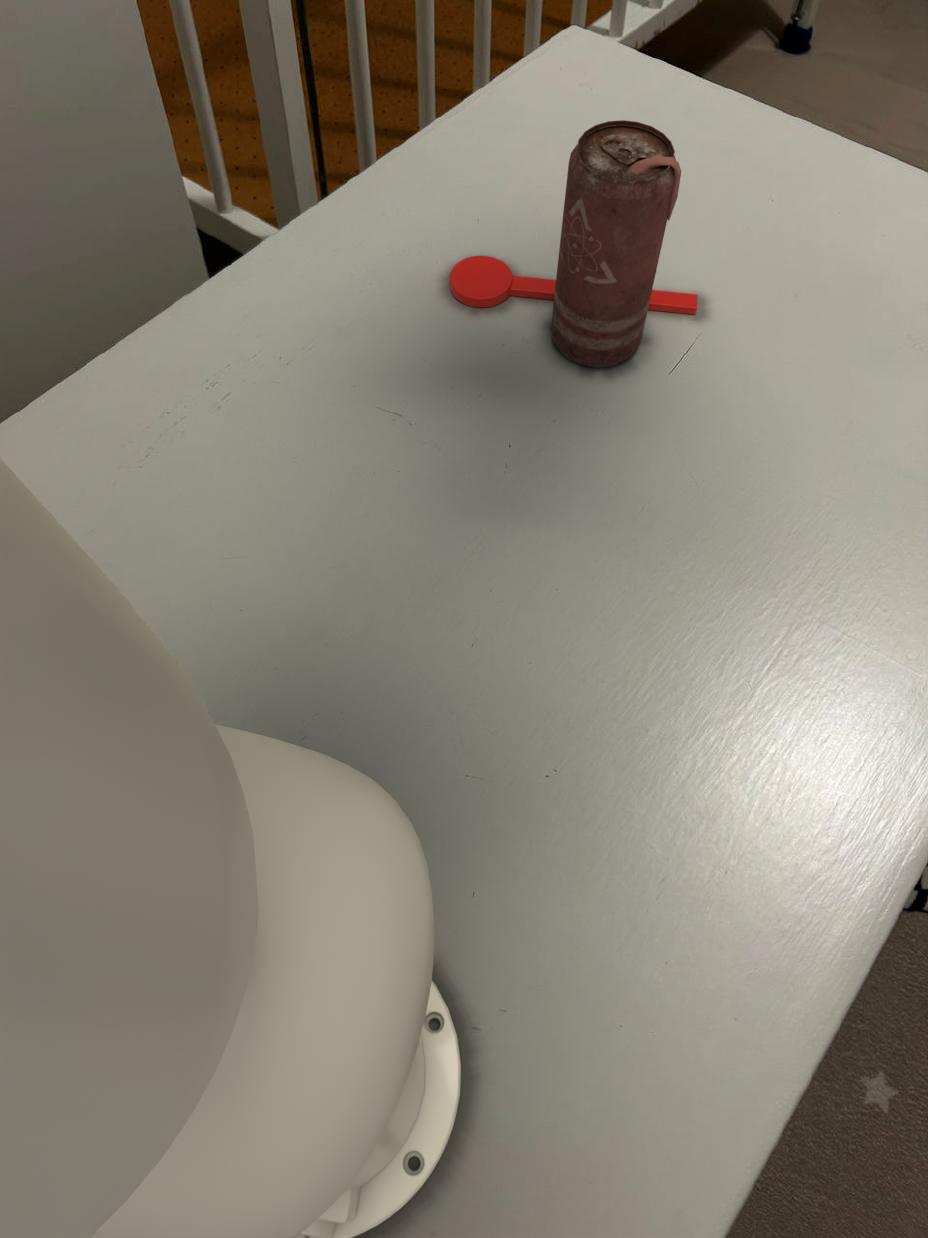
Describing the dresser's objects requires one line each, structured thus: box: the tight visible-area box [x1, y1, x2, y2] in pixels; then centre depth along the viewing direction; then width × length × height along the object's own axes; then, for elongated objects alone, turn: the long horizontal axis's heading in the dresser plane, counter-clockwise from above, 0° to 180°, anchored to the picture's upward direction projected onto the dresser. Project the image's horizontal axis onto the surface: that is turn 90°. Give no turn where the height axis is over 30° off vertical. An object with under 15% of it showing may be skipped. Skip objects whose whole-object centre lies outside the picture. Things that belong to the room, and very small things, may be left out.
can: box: [550, 119, 682, 369], centre depth 60 cm, size 6×6×14 cm
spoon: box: [449, 255, 698, 315], centre depth 67 cm, size 17×4×1 cm, turn 82°
